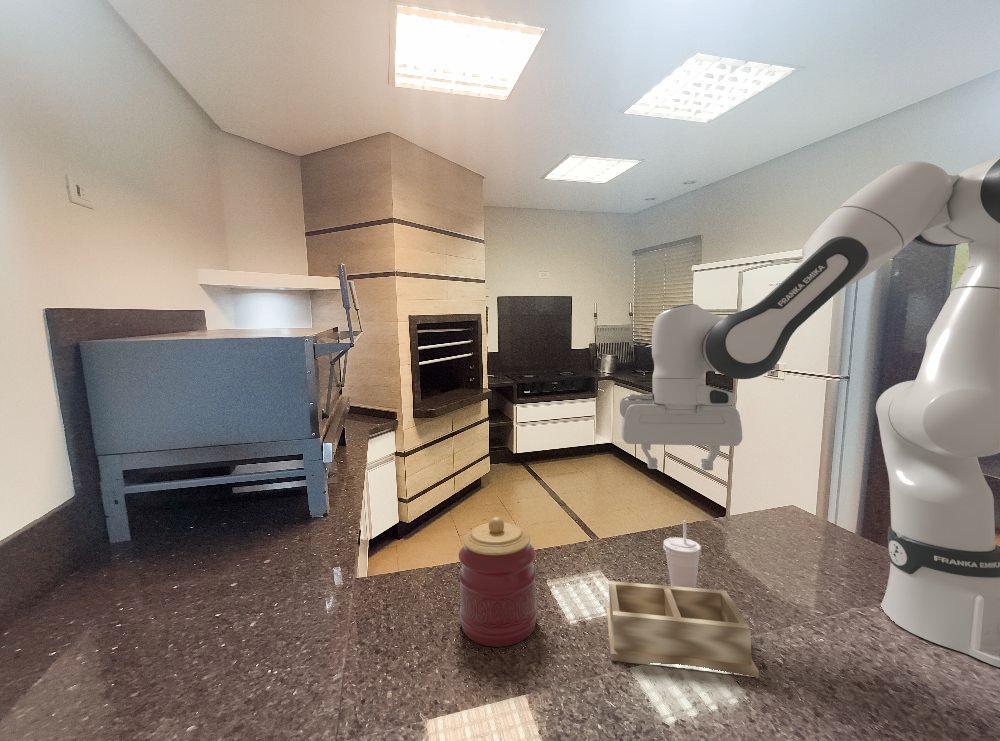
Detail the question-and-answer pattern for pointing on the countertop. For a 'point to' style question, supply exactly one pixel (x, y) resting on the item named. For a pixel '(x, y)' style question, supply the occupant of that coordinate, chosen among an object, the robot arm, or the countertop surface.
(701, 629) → the wooden divided tray
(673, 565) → the smoothie
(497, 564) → the canister
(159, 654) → the countertop surface
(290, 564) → the countertop surface
